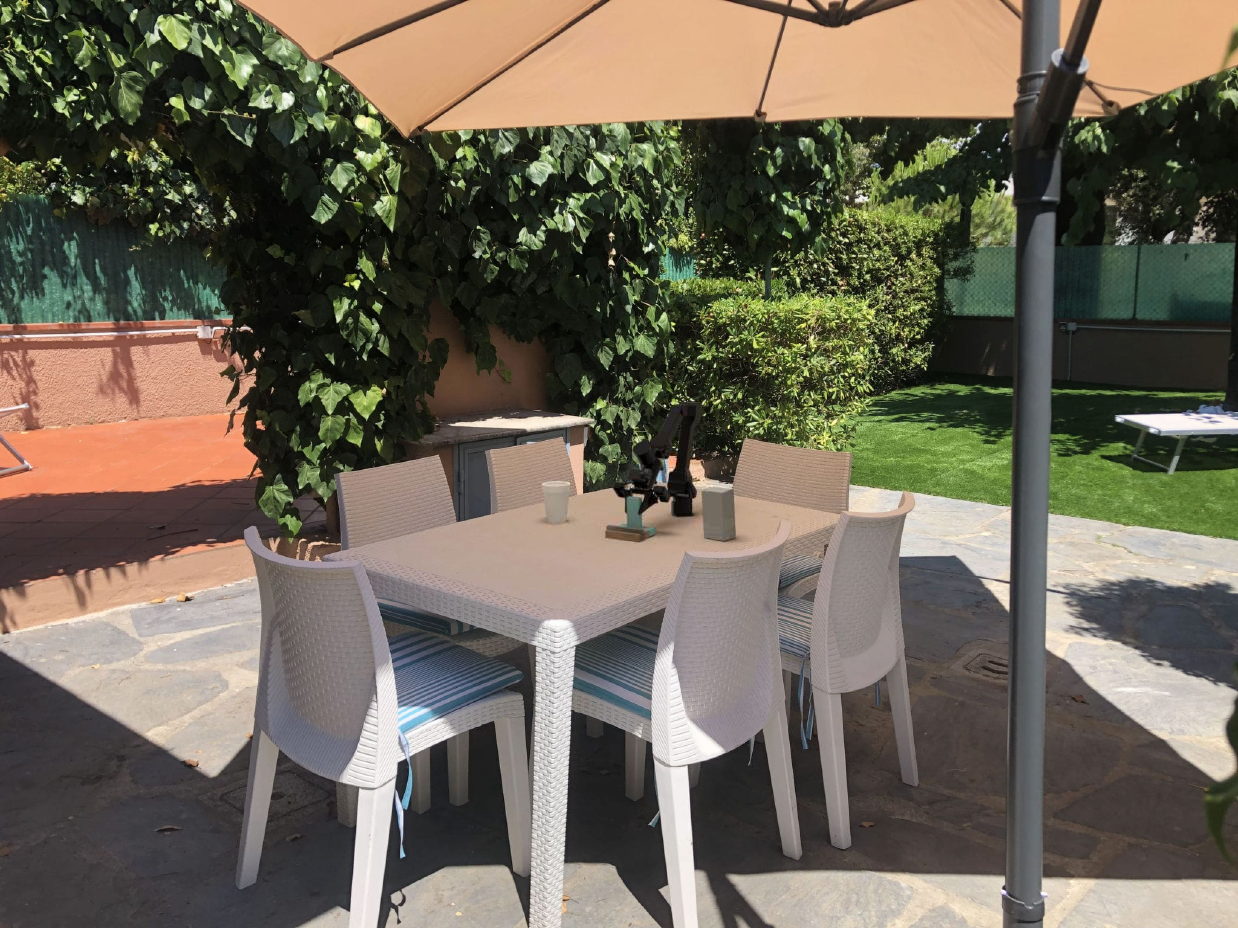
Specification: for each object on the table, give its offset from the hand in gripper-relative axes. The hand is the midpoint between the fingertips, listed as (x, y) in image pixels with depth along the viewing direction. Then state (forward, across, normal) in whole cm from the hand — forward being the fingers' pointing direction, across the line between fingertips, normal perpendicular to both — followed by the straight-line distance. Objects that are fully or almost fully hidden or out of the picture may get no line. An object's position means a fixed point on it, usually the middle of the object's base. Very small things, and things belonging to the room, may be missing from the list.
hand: (632, 513), depth 311 cm
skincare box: (-2, +26, +12) cm, 28 cm away
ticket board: (+7, 0, +3) cm, 8 cm away
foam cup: (+1, -32, +9) cm, 34 cm away
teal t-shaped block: (+3, 0, +6) cm, 7 cm away
